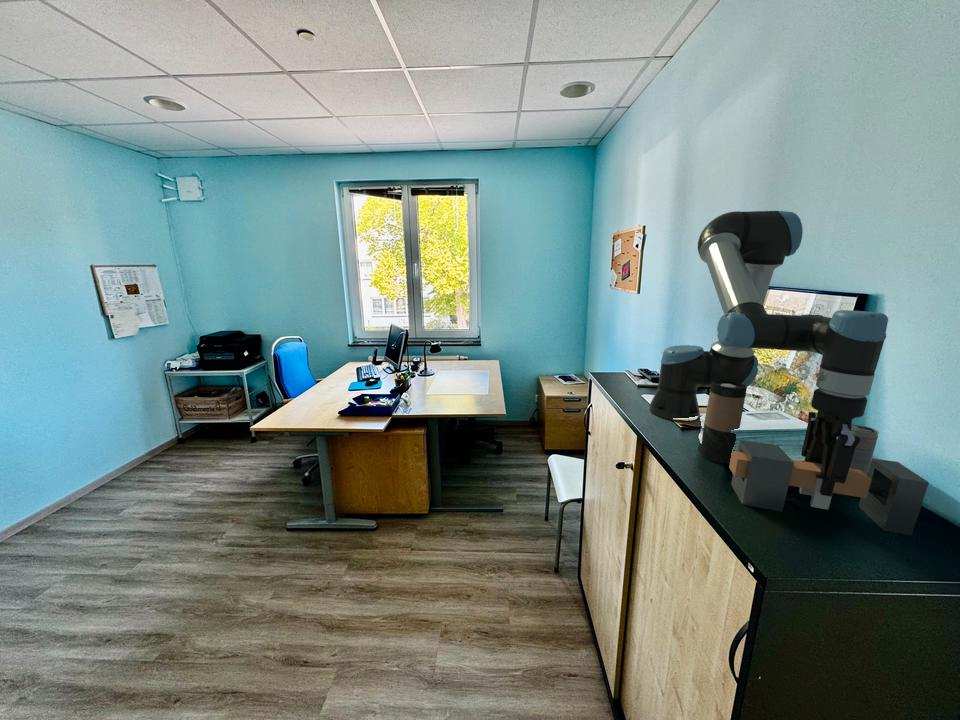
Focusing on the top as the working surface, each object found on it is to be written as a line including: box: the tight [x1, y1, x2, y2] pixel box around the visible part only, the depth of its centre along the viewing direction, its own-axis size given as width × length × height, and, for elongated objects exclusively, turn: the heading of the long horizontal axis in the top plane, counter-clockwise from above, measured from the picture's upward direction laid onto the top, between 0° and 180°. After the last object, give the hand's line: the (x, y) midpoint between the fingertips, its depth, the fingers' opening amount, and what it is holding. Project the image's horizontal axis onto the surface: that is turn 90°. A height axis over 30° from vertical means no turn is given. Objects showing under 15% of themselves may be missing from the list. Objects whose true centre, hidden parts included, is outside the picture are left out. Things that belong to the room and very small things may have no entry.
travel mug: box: [700, 380, 748, 465], centre depth 96 cm, size 8×8×20 cm
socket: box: [858, 457, 930, 537], centre depth 73 cm, size 8×4×11 cm, turn 161°
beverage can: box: [850, 423, 880, 475], centre depth 83 cm, size 5×5×15 cm
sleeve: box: [730, 439, 794, 513], centre depth 80 cm, size 8×7×11 cm
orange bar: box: [728, 450, 872, 499], centre depth 77 cm, size 4×22×4 cm, turn 71°
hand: (813, 500), depth 77 cm, fingers closed on orange bar, 4 cm apart
